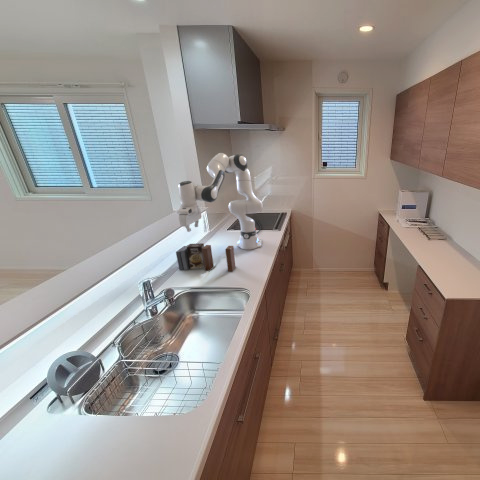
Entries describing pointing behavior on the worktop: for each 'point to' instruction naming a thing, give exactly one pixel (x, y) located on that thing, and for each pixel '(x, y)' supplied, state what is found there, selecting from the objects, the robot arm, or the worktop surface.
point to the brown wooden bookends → (209, 259)
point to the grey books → (183, 258)
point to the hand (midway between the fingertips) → (193, 229)
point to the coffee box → (196, 256)
